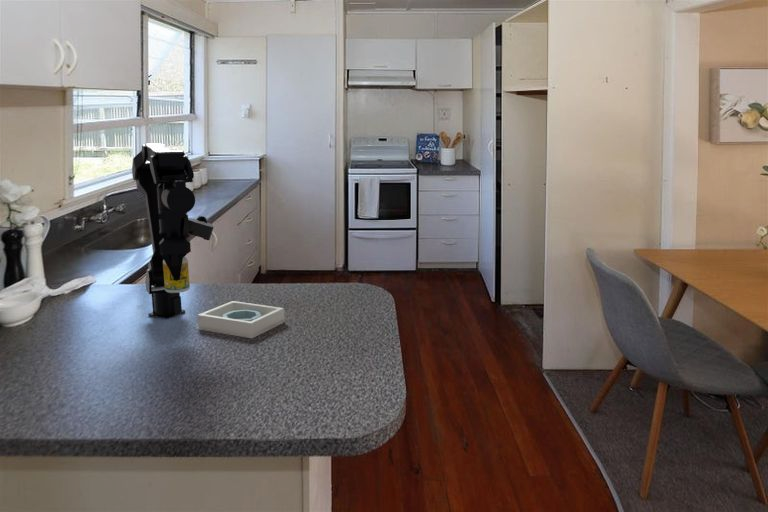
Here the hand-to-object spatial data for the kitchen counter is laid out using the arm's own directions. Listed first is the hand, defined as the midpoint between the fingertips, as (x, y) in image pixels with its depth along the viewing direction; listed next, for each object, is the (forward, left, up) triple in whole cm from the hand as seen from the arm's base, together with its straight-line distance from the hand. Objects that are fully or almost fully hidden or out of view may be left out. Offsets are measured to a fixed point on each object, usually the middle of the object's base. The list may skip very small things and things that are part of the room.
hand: (176, 277), depth 147 cm
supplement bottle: (0, 0, -3) cm, 3 cm away
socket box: (+10, +10, -13) cm, 19 cm away
